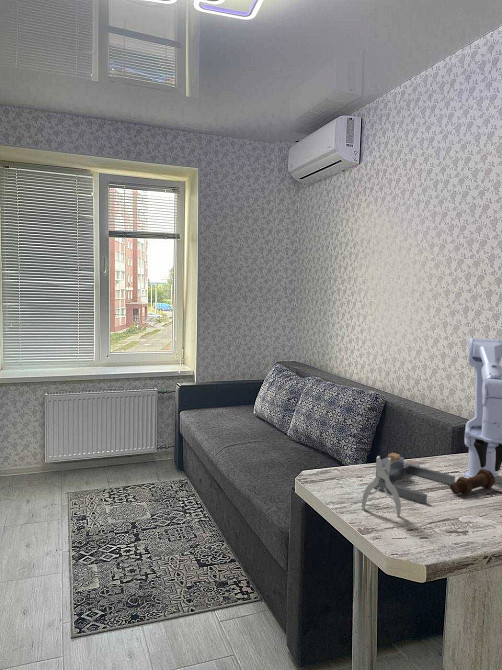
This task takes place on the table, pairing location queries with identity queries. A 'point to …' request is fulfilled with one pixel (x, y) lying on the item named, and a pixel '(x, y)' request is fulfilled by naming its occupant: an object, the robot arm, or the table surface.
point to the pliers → (384, 475)
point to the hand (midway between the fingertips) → (490, 468)
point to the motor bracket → (401, 470)
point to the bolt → (473, 482)
